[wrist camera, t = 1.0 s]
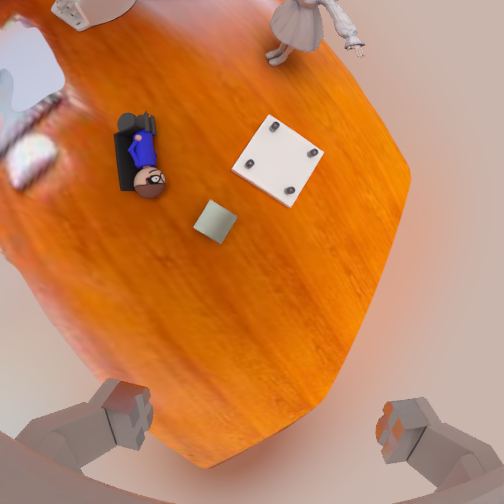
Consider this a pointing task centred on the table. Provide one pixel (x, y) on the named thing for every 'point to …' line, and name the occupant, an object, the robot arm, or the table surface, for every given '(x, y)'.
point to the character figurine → (138, 156)
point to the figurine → (308, 28)
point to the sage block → (215, 221)
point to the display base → (278, 161)
